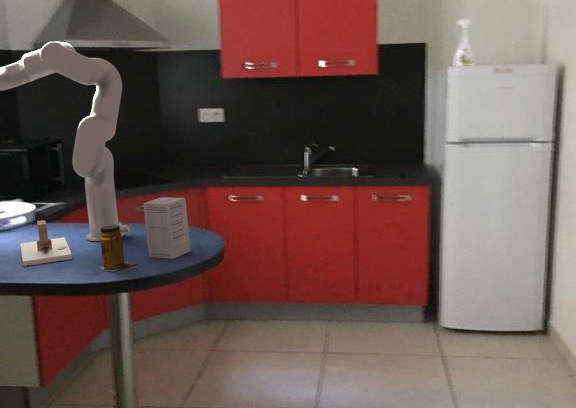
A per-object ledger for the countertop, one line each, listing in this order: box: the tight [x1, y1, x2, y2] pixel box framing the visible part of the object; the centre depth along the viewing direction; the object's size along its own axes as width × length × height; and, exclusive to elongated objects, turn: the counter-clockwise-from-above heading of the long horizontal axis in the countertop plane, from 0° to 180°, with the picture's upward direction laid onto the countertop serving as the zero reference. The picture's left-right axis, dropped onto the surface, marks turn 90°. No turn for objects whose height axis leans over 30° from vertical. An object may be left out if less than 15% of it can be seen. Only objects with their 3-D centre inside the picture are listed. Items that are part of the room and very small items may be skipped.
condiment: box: [98, 225, 135, 273], centre depth 191 cm, size 7×8×12 cm
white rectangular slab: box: [20, 237, 73, 267], centre depth 210 cm, size 24×14×2 cm, turn 23°
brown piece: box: [36, 220, 52, 253], centre depth 208 cm, size 10×4×8 cm, turn 23°
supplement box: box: [142, 196, 191, 260], centre depth 200 cm, size 10×9×17 cm
